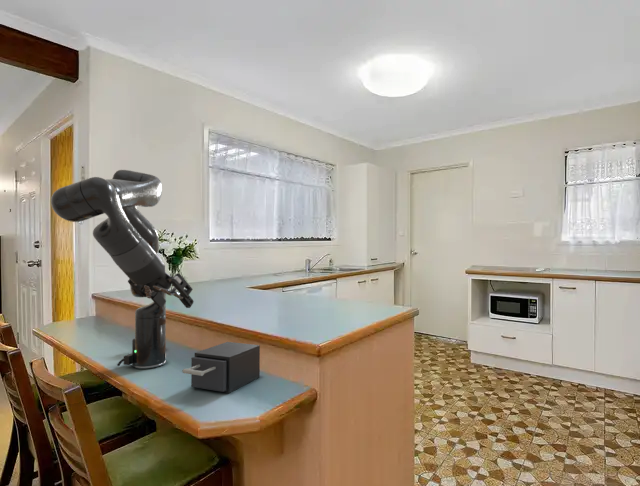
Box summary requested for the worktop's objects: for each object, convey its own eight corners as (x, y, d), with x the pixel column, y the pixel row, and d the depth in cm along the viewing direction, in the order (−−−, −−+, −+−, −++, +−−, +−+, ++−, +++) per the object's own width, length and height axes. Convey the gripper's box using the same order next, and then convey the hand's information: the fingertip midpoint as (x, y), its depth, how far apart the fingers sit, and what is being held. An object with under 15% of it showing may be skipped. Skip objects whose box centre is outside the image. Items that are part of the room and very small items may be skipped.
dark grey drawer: (208, 399, 97) (208, 368, 97) (175, 393, 101) (175, 363, 101) (252, 377, 114) (252, 350, 114) (222, 372, 118) (222, 346, 118)
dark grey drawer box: (229, 393, 104) (229, 357, 104) (194, 387, 108) (194, 352, 108) (259, 377, 117) (259, 345, 117) (227, 372, 121) (227, 341, 121)
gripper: (173, 247, 83) (207, 294, 94) (124, 248, 87) (162, 293, 97) (153, 271, 78) (192, 317, 88) (101, 271, 81) (145, 315, 92)
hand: (176, 304), depth 93 cm, fingers open, 8 cm apart
